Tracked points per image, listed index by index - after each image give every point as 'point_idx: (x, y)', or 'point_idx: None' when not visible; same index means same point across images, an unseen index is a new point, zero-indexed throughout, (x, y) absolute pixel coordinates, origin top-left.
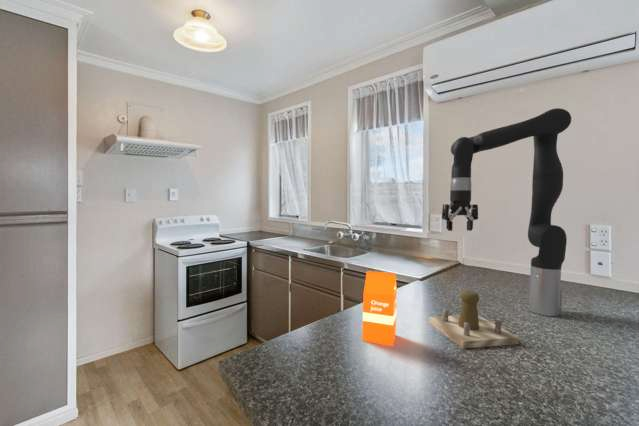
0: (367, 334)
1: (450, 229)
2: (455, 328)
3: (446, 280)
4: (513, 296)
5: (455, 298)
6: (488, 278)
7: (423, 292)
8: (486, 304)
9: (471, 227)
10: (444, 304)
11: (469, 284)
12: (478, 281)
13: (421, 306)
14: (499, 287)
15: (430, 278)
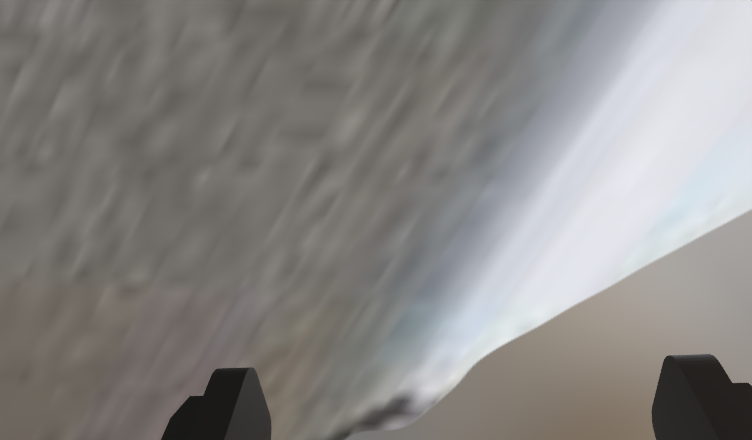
0: None
1: (717, 375)
2: None
3: (273, 390)
4: (24, 148)
5: (375, 135)
6: (46, 400)
7: (502, 236)
8: (243, 25)
9: (208, 410)
10: (502, 37)
11: (182, 332)
12: (115, 367)
13: (672, 8)
14: (44, 282)
15: (340, 419)
